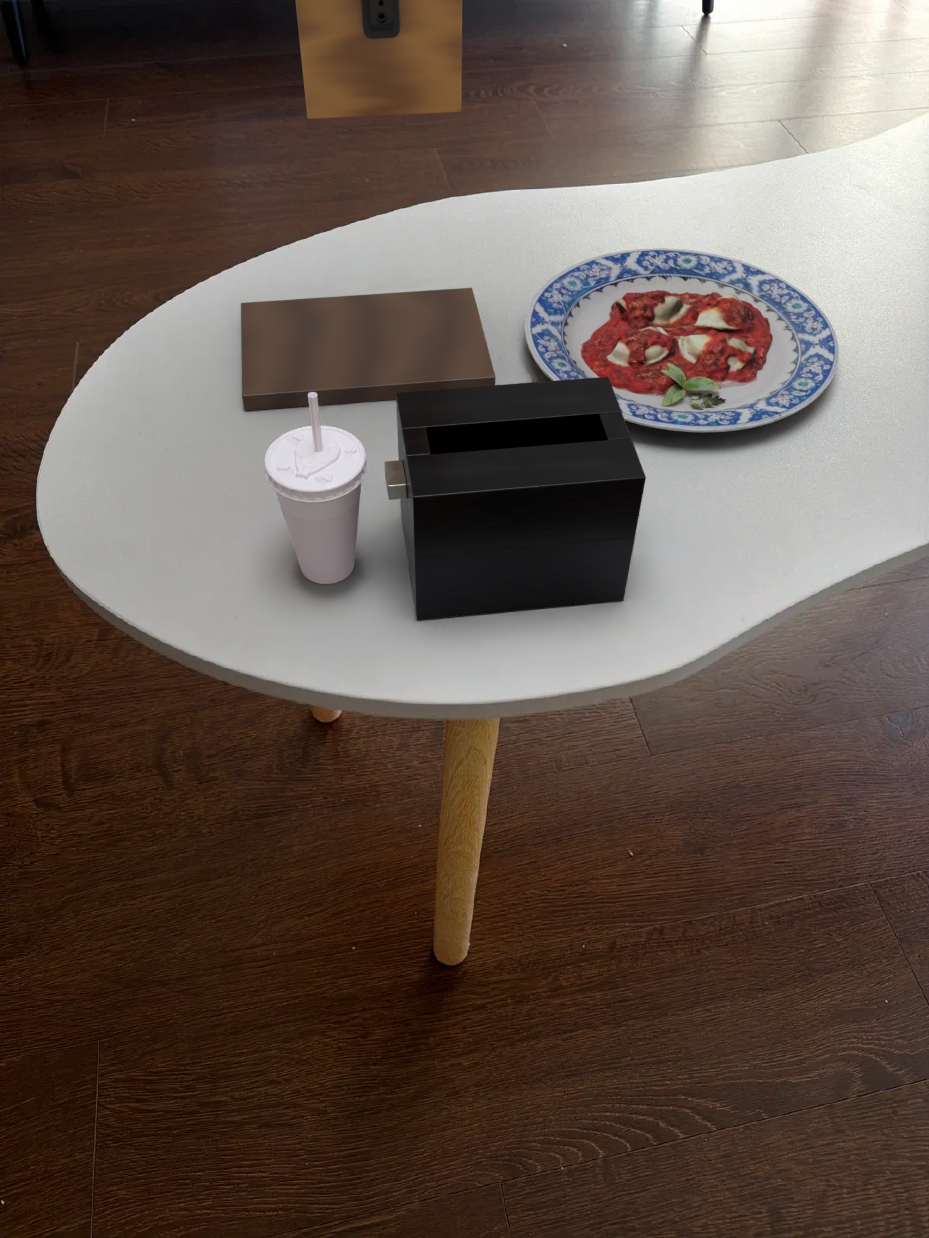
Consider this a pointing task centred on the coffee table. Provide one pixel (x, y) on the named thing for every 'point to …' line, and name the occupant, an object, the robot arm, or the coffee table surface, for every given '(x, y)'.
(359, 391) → the cutting board
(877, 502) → the coffee table surface
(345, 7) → the toast
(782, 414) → the ceramic plate
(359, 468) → the smoothie
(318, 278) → the coffee table surface
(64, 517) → the coffee table surface
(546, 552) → the toaster
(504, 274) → the coffee table surface
